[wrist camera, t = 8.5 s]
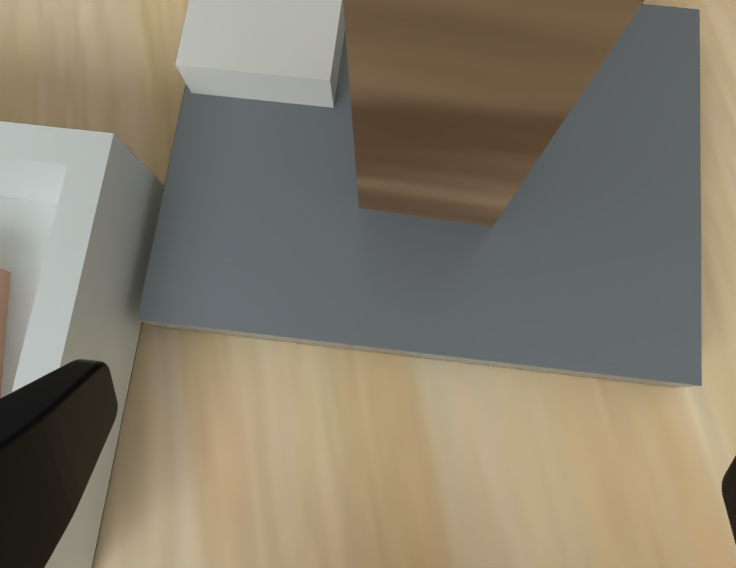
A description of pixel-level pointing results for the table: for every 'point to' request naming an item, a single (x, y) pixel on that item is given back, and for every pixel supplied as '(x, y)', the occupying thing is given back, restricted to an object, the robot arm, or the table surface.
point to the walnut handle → (466, 95)
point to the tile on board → (263, 49)
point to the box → (74, 275)
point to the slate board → (452, 232)
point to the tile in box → (3, 315)
